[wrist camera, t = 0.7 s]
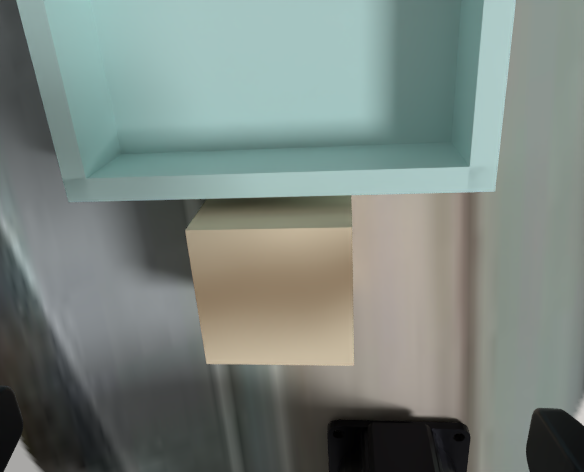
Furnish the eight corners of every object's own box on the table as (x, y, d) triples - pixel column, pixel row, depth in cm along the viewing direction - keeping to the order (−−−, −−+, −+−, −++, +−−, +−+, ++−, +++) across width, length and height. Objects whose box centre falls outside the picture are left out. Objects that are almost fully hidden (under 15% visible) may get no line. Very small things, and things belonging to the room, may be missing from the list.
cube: (352, 288, 21) (353, 365, 17) (235, 289, 22) (206, 364, 17) (350, 174, 19) (352, 227, 15) (221, 178, 20) (184, 230, 15)
